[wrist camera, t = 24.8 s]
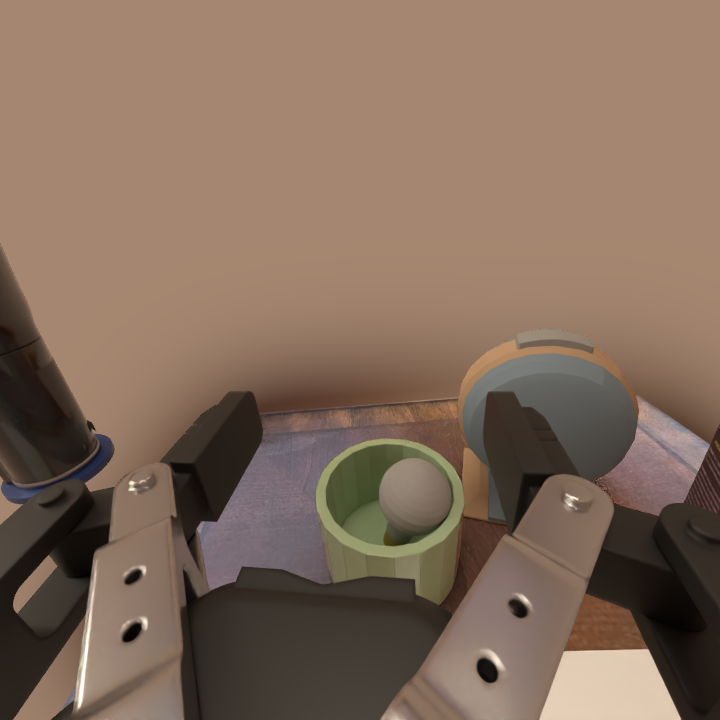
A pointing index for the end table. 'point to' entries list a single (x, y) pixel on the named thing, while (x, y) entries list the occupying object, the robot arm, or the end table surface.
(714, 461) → the supplement box
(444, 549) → the pot
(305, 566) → the end table surface
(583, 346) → the alarm clock
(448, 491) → the light bulb
